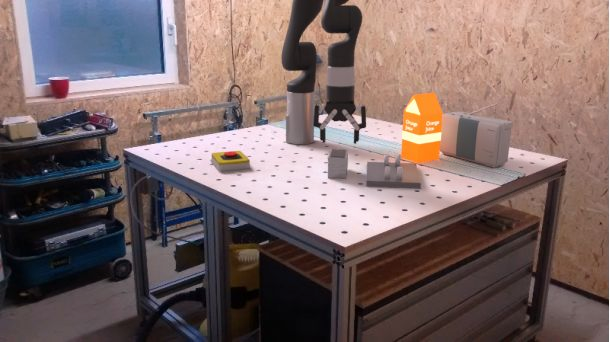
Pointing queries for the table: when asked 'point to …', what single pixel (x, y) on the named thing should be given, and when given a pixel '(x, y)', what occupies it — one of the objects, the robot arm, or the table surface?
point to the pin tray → (392, 174)
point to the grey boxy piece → (337, 163)
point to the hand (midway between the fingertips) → (339, 142)
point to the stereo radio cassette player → (476, 137)
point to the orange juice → (422, 129)
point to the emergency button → (230, 162)
